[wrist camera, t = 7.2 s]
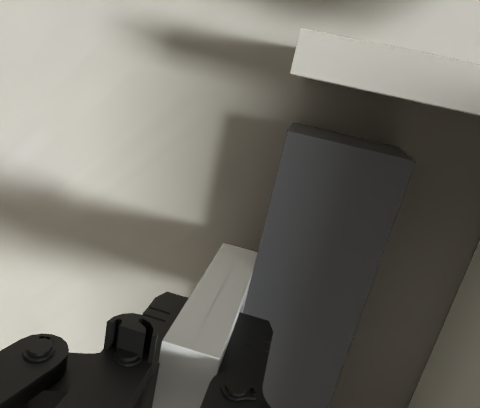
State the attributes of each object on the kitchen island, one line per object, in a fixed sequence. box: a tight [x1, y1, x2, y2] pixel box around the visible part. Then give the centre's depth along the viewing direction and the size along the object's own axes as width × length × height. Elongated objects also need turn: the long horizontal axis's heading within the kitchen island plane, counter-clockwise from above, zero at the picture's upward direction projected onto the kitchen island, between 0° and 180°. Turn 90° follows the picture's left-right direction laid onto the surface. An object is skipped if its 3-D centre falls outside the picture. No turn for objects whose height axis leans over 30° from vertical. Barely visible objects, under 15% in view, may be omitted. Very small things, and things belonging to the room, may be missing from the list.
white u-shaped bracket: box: [290, 28, 480, 408], centre depth 14 cm, size 18×9×6 cm, turn 168°
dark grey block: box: [243, 123, 415, 408], centre depth 16 cm, size 13×4×3 cm, turn 168°
